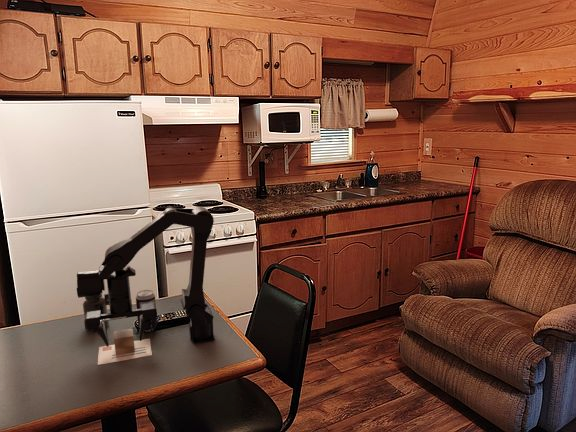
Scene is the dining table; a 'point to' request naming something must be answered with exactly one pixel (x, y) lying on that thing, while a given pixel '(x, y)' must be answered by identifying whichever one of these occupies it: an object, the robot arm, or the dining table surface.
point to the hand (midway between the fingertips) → (124, 343)
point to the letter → (110, 356)
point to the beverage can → (145, 298)
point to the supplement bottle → (95, 306)
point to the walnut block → (124, 341)
